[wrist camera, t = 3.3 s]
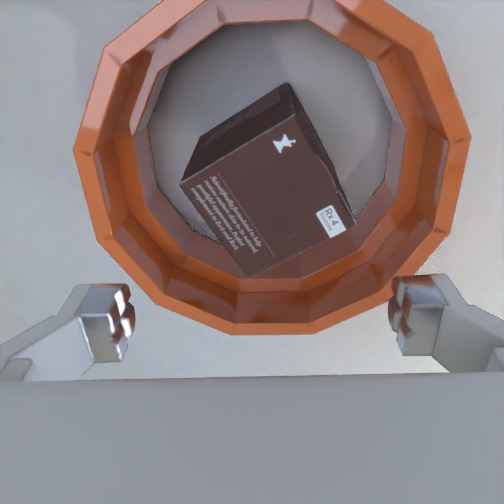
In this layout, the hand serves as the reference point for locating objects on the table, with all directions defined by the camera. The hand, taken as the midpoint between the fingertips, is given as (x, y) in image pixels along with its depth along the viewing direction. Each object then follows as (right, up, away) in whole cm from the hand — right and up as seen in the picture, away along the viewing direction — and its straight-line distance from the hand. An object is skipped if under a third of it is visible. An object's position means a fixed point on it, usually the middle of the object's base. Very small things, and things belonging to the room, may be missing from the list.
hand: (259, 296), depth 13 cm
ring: (+1, +7, +12) cm, 14 cm away
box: (+1, +7, +12) cm, 14 cm away
